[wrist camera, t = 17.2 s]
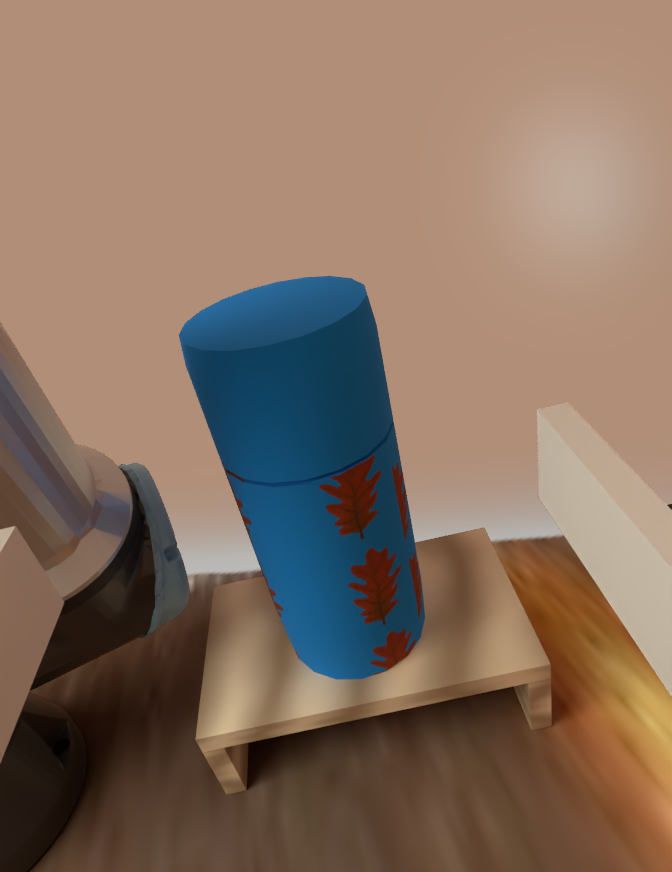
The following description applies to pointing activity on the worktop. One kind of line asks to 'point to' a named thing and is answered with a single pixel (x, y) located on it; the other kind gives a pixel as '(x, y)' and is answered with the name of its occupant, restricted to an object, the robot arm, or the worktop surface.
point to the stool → (382, 693)
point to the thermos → (314, 466)
